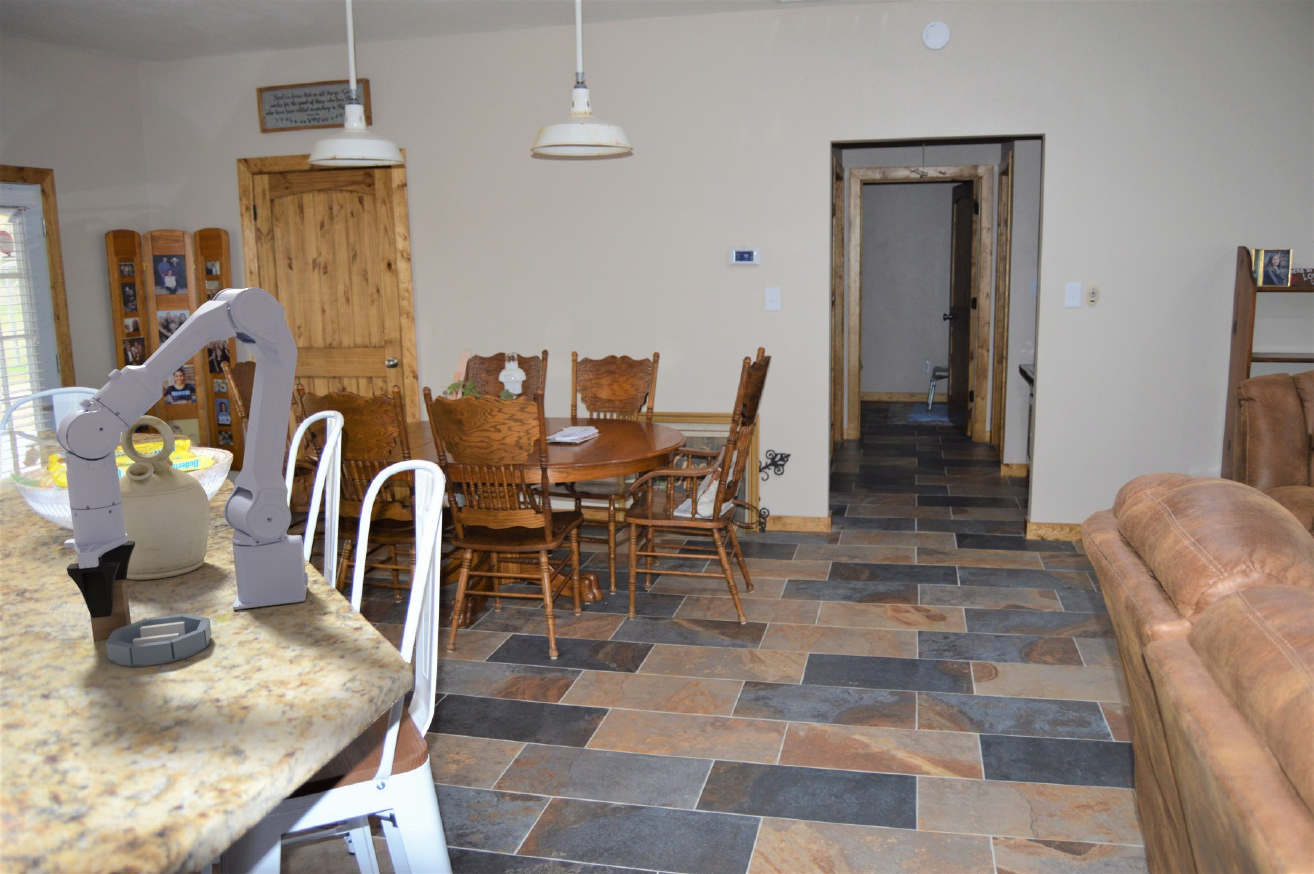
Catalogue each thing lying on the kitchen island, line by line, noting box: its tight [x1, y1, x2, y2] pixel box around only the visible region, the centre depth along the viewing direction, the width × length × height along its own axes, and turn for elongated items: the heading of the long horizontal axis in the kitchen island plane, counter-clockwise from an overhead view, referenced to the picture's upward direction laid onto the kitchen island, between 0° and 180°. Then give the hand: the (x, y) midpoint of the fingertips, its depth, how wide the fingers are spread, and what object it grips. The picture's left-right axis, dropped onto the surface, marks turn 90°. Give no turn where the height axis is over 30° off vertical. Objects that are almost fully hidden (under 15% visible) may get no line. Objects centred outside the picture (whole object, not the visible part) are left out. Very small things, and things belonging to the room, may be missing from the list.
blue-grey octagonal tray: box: [105, 613, 212, 668], centre depth 121 cm, size 11×11×2 cm
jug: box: [119, 414, 211, 581], centre depth 154 cm, size 15×16×25 cm
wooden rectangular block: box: [89, 579, 132, 642], centre depth 126 cm, size 4×2×7 cm, turn 108°
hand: (108, 607), depth 126 cm, fingers open, 7 cm apart
